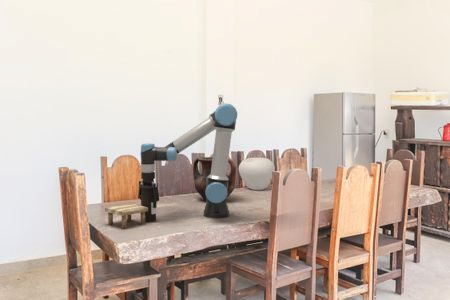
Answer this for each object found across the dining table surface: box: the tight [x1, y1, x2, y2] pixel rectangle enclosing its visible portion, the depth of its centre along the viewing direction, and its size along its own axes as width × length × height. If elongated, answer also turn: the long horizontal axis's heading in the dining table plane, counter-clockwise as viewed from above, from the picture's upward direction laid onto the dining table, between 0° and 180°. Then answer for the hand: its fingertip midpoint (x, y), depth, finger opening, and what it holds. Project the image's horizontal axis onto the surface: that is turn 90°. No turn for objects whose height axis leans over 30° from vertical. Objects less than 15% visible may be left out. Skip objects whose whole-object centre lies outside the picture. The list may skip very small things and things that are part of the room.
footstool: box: [104, 202, 148, 230], centre depth 234 cm, size 16×16×9 cm
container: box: [140, 185, 157, 223], centre depth 242 cm, size 9×9×20 cm
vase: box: [238, 157, 276, 191], centre depth 347 cm, size 28×27×25 cm
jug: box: [192, 156, 237, 203], centre depth 301 cm, size 32×28×30 cm
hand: (148, 212), depth 242 cm, fingers closed on container, 8 cm apart
